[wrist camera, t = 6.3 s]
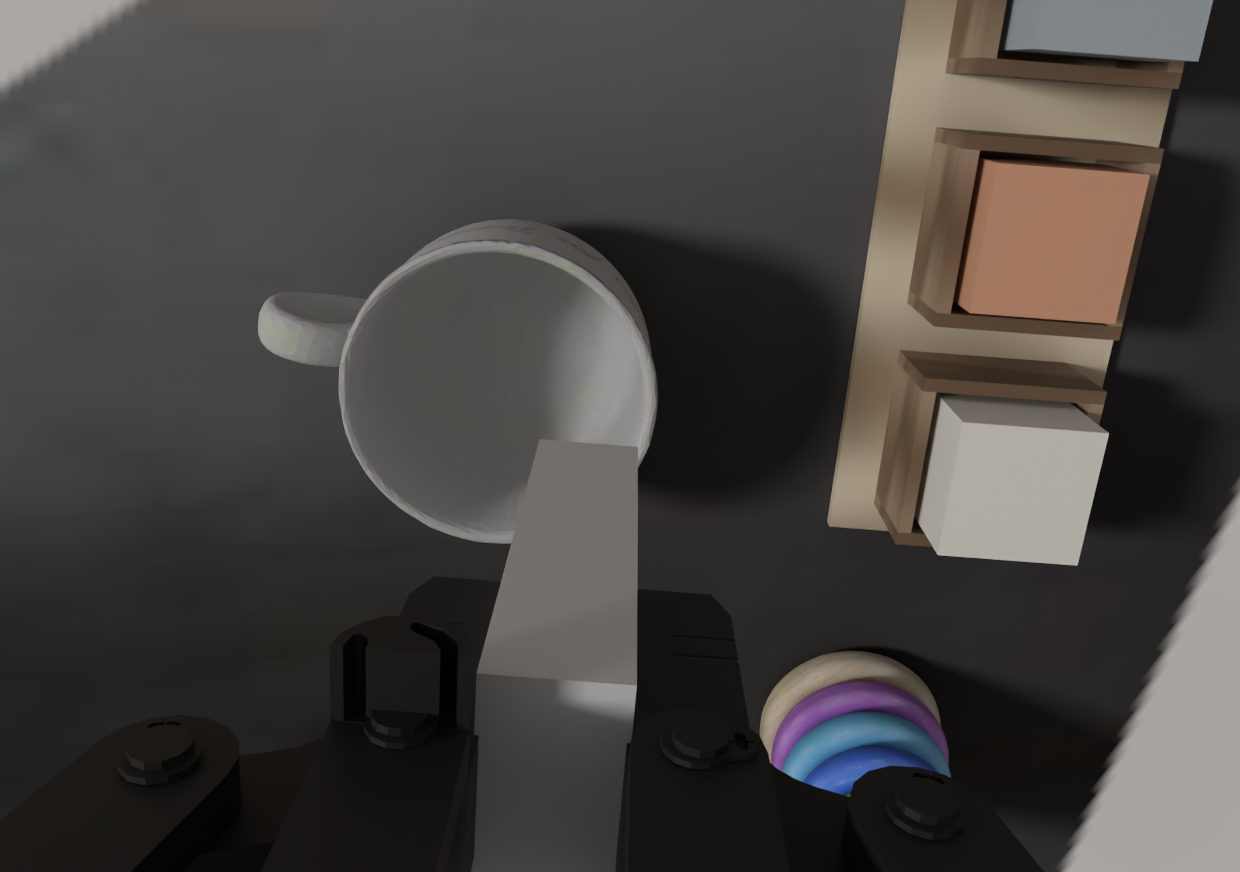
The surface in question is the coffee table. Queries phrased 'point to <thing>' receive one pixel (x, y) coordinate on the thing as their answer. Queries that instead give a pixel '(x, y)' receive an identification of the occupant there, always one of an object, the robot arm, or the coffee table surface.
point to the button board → (934, 234)
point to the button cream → (1009, 478)
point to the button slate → (1107, 29)
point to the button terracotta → (1049, 239)
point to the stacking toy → (851, 721)
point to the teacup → (478, 367)
